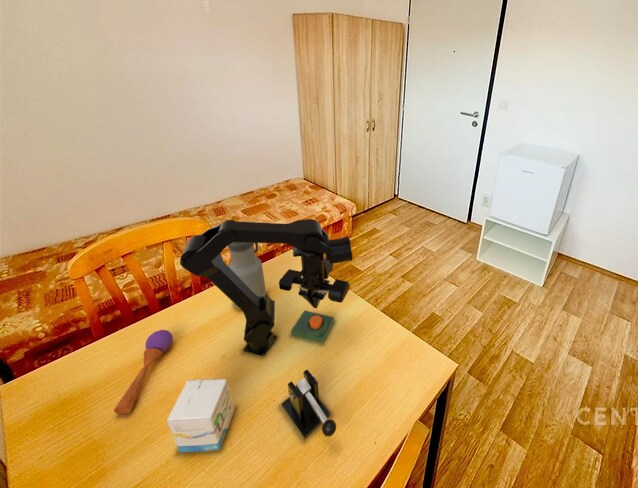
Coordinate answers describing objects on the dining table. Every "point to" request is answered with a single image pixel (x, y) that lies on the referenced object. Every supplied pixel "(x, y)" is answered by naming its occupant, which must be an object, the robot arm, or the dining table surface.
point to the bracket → (304, 407)
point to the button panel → (306, 332)
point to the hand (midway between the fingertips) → (316, 307)
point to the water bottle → (247, 266)
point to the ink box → (201, 415)
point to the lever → (316, 408)
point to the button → (315, 322)
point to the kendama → (145, 368)
